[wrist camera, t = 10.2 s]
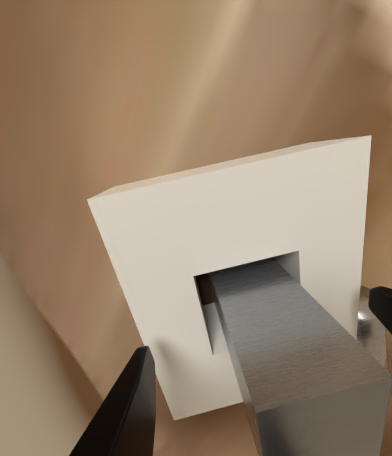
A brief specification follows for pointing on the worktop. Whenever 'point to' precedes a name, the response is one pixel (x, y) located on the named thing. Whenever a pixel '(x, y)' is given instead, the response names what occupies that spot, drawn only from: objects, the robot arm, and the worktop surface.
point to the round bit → (371, 330)
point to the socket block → (233, 251)
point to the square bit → (298, 367)
